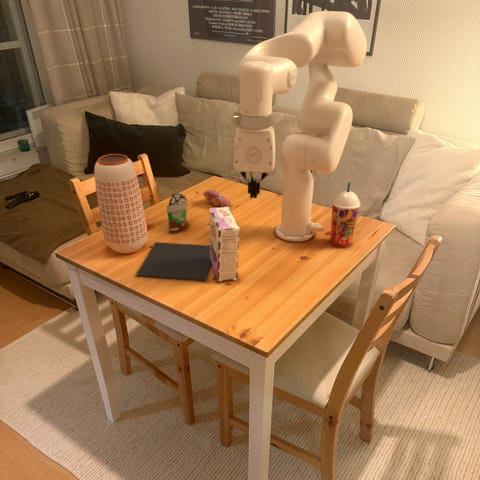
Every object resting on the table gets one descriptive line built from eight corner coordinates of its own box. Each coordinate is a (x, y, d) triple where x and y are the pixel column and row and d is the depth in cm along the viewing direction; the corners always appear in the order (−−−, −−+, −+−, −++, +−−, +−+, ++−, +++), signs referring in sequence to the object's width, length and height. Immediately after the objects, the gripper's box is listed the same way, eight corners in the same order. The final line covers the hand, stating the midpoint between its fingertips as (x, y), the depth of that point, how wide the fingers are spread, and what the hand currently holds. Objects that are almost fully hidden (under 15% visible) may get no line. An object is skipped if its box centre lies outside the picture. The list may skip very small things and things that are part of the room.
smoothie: (348, 251, 141) (357, 189, 129) (323, 245, 145) (330, 184, 133) (357, 241, 147) (367, 180, 135) (333, 234, 151) (341, 175, 138)
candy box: (208, 257, 138) (209, 206, 128) (227, 256, 139) (229, 205, 129) (217, 282, 127) (218, 228, 117) (237, 280, 129) (240, 227, 118)
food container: (187, 234, 151) (185, 206, 145) (169, 234, 151) (166, 206, 145) (191, 218, 161) (189, 191, 155) (174, 218, 161) (171, 191, 155)
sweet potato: (206, 205, 174) (199, 192, 168) (213, 197, 175) (207, 183, 169) (224, 212, 168) (218, 199, 163) (232, 204, 169) (226, 190, 164)
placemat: (217, 247, 144) (217, 246, 144) (204, 281, 128) (204, 279, 128) (156, 243, 146) (156, 242, 146) (136, 276, 130) (136, 275, 130)
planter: (129, 234, 151) (114, 148, 134) (158, 245, 145) (146, 156, 128) (97, 250, 143) (78, 160, 125) (127, 262, 136) (110, 169, 119)
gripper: (221, 124, 105) (223, 200, 116) (286, 126, 103) (281, 203, 114) (226, 116, 111) (227, 189, 122) (287, 118, 109) (283, 192, 120)
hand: (253, 196), depth 118 cm, fingers closed
